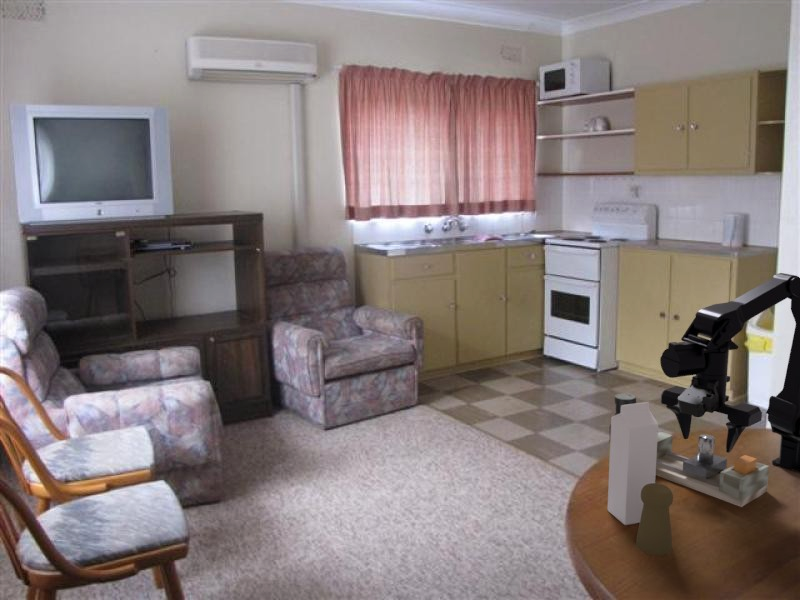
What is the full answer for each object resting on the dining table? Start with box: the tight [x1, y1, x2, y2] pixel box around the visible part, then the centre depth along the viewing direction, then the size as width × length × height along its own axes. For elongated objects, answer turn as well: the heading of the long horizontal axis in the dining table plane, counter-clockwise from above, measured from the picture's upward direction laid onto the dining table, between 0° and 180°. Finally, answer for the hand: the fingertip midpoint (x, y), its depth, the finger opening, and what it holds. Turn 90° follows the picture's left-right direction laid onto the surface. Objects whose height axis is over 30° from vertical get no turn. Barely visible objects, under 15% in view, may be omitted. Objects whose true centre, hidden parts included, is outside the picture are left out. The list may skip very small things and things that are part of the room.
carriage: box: [683, 434, 728, 479], centre depth 149 cm, size 8×5×7 cm, turn 128°
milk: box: [607, 401, 659, 526], centre depth 134 cm, size 6×6×22 cm
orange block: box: [733, 454, 758, 475], centre depth 142 cm, size 4×2×3 cm, turn 128°
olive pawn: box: [635, 482, 674, 556], centre depth 125 cm, size 6×6×11 cm
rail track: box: [655, 431, 770, 508], centre depth 151 cm, size 10×24×6 cm, turn 38°
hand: (706, 445), depth 148 cm, fingers open, 9 cm apart
